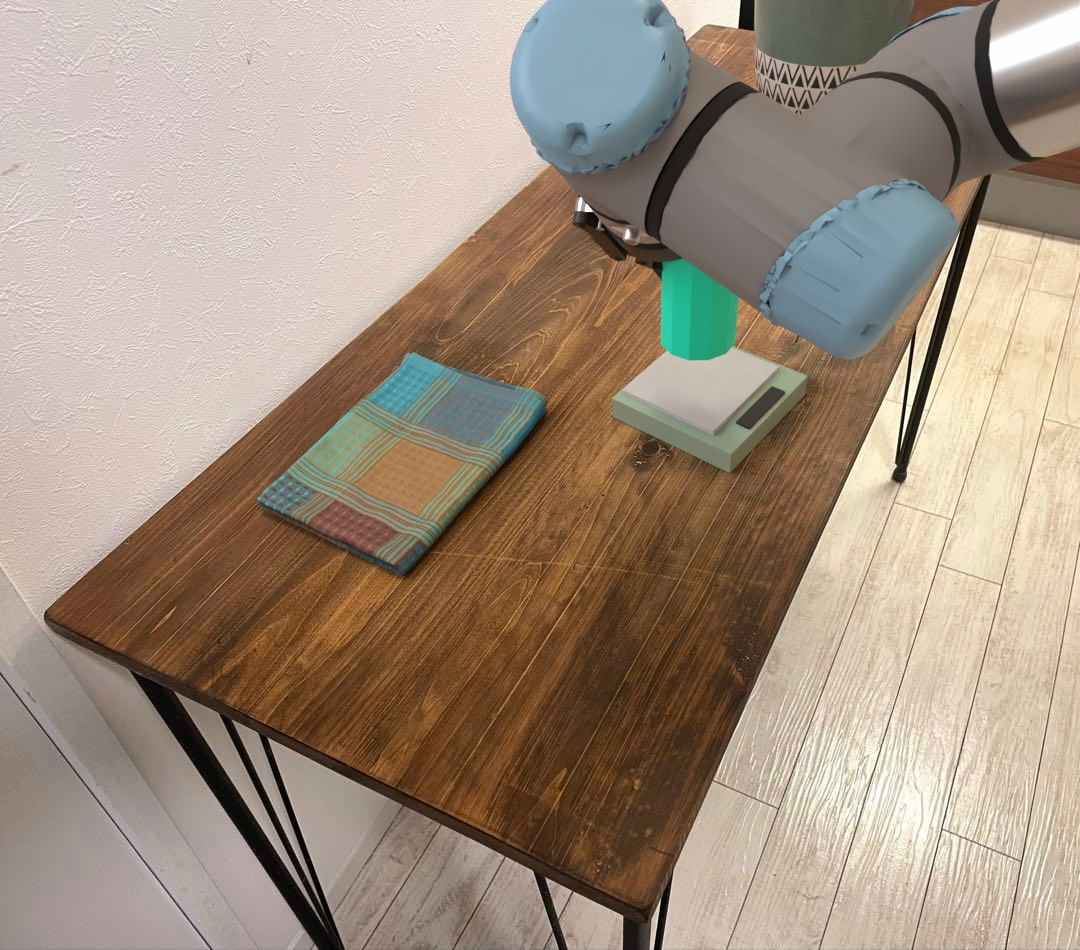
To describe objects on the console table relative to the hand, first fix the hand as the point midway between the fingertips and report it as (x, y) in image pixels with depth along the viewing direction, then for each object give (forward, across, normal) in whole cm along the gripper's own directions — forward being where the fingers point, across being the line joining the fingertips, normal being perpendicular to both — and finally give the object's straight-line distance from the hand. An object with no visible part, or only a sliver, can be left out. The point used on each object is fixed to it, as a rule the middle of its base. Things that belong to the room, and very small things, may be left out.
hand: (709, 275), depth 73 cm
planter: (+56, +1, +33) cm, 65 cm away
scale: (+14, 0, -9) cm, 16 cm away
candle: (0, 0, -5) cm, 5 cm away
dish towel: (+4, -25, -20) cm, 32 cm away
